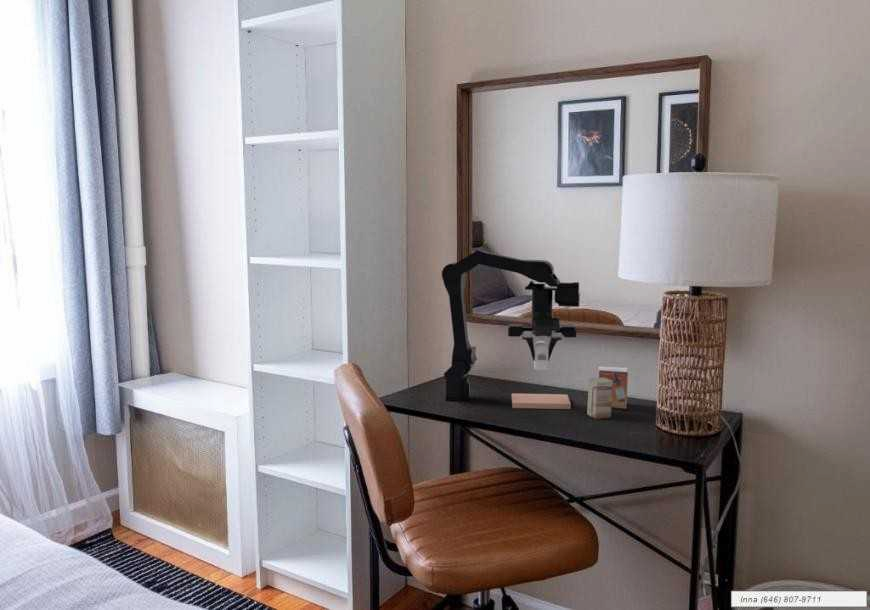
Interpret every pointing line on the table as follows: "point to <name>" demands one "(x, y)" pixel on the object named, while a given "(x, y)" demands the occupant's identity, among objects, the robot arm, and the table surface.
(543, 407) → the terracotta tile
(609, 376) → the small box
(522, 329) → the robot arm
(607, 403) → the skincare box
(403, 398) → the table surface
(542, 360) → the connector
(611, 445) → the table surface
